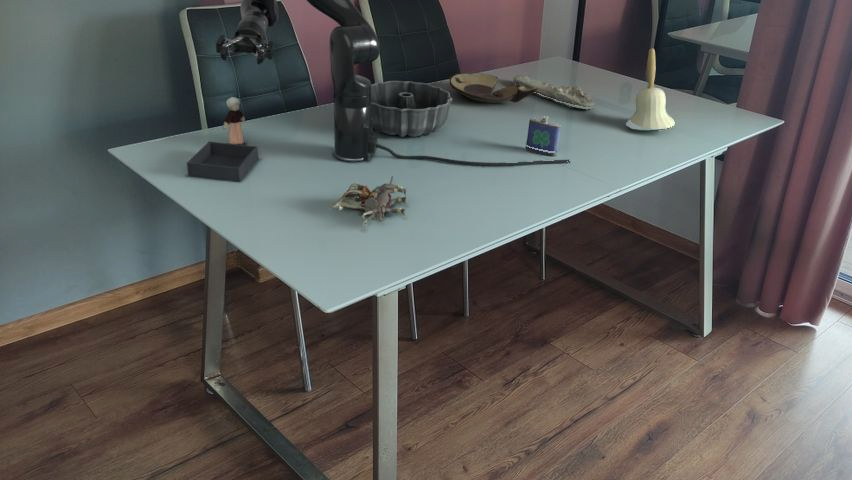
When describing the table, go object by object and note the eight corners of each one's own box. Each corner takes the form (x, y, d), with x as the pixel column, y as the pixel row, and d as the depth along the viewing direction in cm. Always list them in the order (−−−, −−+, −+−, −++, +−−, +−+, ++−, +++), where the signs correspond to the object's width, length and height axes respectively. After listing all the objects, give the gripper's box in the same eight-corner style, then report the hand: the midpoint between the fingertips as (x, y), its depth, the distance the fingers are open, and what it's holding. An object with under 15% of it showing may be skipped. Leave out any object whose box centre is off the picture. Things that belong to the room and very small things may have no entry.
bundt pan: (340, 130, 214) (340, 95, 208) (386, 106, 235) (387, 74, 230) (424, 151, 206) (425, 116, 201) (464, 124, 228) (466, 92, 223)
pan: (258, 159, 191) (257, 146, 189) (239, 181, 179) (238, 168, 177) (210, 154, 191) (208, 141, 189) (188, 176, 179) (186, 162, 177)
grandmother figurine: (236, 150, 194) (232, 102, 188) (222, 148, 194) (218, 100, 188) (250, 140, 201) (247, 94, 194) (237, 138, 201) (233, 91, 195)
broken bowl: (482, 83, 265) (484, 61, 261) (544, 109, 248) (547, 86, 244) (433, 92, 251) (434, 69, 247) (494, 120, 234) (497, 96, 230)
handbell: (665, 137, 232) (667, 53, 221) (618, 133, 239) (618, 52, 228) (680, 125, 244) (684, 44, 233) (636, 121, 251) (637, 43, 240)
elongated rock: (524, 84, 273) (505, 90, 267) (525, 70, 271) (505, 75, 264) (602, 108, 253) (583, 114, 247) (603, 92, 250) (584, 98, 244)
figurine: (405, 211, 162) (325, 208, 160) (404, 235, 166) (326, 232, 164) (407, 169, 179) (334, 165, 177) (406, 191, 182) (335, 188, 180)
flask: (557, 154, 214) (563, 118, 209) (554, 157, 212) (559, 121, 207) (527, 147, 217) (531, 111, 211) (523, 150, 215) (528, 114, 209)
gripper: (222, 16, 203) (211, 41, 191) (277, 24, 206) (269, 48, 194) (224, 43, 208) (213, 69, 196) (277, 50, 211) (270, 75, 199)
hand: (241, 58), depth 195 cm, fingers open, 8 cm apart
